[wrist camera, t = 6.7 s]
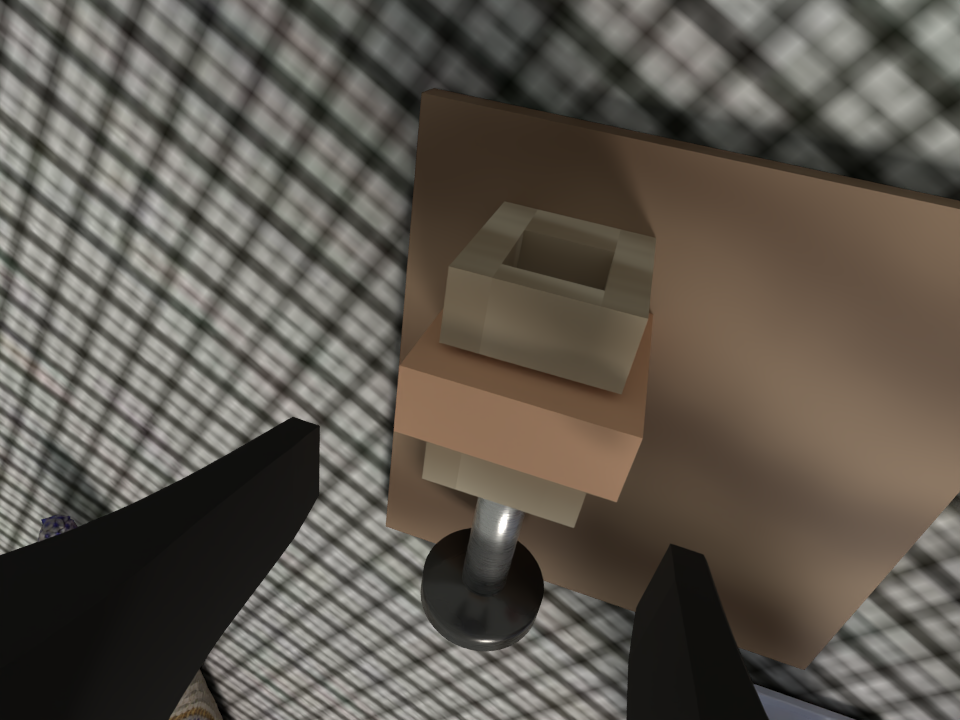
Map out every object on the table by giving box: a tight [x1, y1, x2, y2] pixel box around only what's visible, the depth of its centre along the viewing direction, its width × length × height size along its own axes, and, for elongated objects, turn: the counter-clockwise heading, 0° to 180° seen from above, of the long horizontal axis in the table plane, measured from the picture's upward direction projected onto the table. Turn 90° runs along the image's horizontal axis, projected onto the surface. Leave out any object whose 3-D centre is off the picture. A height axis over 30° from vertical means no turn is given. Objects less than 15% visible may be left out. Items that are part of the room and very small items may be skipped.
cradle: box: [386, 88, 960, 670], centre depth 18 cm, size 18×18×6 cm
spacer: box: [394, 309, 653, 502], centre depth 16 cm, size 2×6×6 cm, turn 81°
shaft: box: [421, 497, 544, 651], centre depth 19 cm, size 8×4×4 cm, turn 172°
